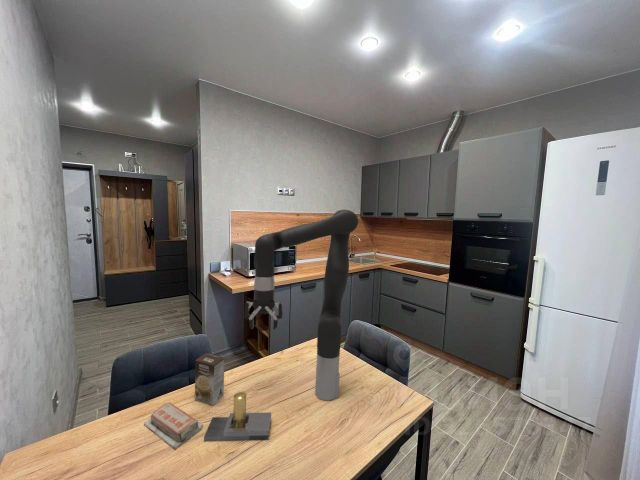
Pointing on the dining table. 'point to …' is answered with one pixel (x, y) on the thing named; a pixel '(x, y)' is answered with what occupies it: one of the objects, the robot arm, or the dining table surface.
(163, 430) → the packaged product
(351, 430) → the dining table surface
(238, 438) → the grey socket base
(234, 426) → the pin
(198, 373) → the coffee box
